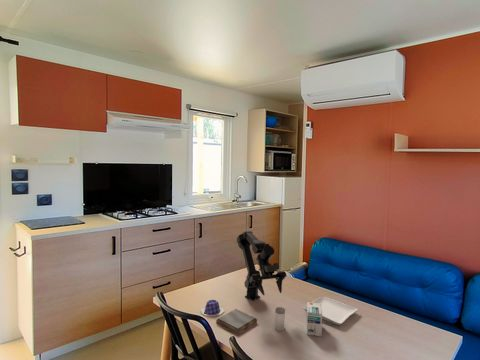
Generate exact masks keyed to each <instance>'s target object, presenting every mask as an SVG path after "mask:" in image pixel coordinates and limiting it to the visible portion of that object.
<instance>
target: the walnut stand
mask: <svg viewBox="0 0 480 360" xmlns="http://www.w3.org/2000/svg"><path fill="white" fill-rule="evenodd" d="M257 323H258V318H256V317H254V316H253V315H250V314H248V313H247V312H244V311H241V310H239V309H237V308H234V309H233V310H231V311H229V312H227V313H225V314H224V315H221V316H219V317H218V318H216V319H215V324H217V325H218V326H220V327H222V328H224V329H227V330H228V331H230V332H232V333H233V334H236V335H238V336H239V335H240V334H241V333H244V331H247V330H248V329H249V328H251V327H253V326H254V325H256V324H257Z"/></svg>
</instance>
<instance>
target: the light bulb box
mask: <svg viewBox="0 0 480 360" xmlns="http://www.w3.org/2000/svg"><path fill="white" fill-rule="evenodd" d="M311 302H312V301H311ZM311 302H310V301H307V304H306V305H307V311H306V335H307V334H308V336H309V335H310V336H314V335H315V336H316V337H322V335H323V334H322V329H323V319H322V310H321V304H318V303H311Z"/></svg>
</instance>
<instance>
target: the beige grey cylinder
mask: <svg viewBox="0 0 480 360" xmlns="http://www.w3.org/2000/svg"><path fill="white" fill-rule="evenodd" d="M274 314H275V315H274V329H275V330H276V331H284V330H285V325H286V324H285V323H286V322H285V321H286V320H285V319H286V309H285V307H284V308H283V306H282V307H280V306H279V307H277V306H276V308H275V313H274Z"/></svg>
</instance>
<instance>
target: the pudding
mask: <svg viewBox="0 0 480 360" xmlns="http://www.w3.org/2000/svg"><path fill="white" fill-rule="evenodd" d="M204 309H205V311H204ZM204 312H205V313H206V314H204ZM224 312H225V309H224V308H223V306H221V305H220V303H219V301H217V300H215V299H209V300H208V301H207V302H206V305H204V306H202V308H201V309H200V313H201V314H202V315H204V316H206V317H207V316H208V317H217V316H220V315H222V314H223V313H224Z"/></svg>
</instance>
